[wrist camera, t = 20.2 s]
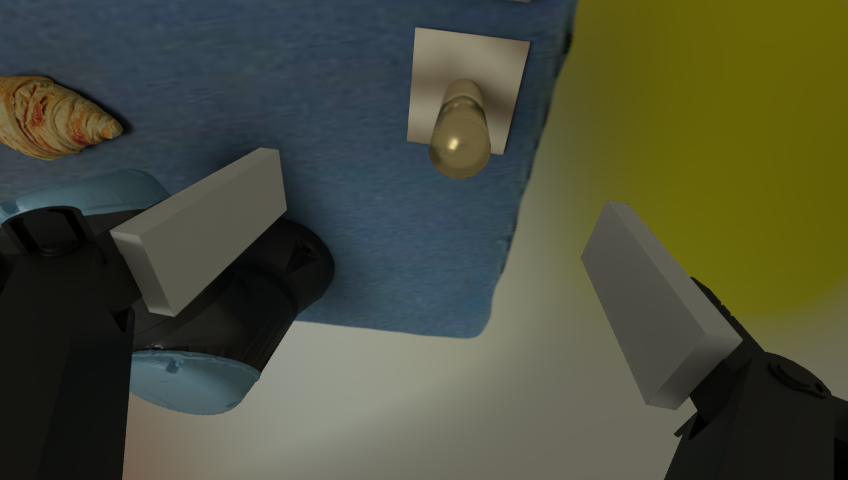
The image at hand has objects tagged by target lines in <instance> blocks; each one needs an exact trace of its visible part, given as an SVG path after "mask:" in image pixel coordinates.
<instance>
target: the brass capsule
mask: <svg viewBox="0 0 848 480" xmlns="http://www.w3.org/2000/svg"><path fill="white" fill-rule="evenodd" d="M429 154H430V158H431V161H432V163H433V165H434V166H435V168H436V169H437V170H438V171H439V172H441V173H442V174H443V175H445V176H447V177H450V178H455V179H464V178H469V177H471V176H474V175H476V174H477V173H479V172H480V171H481V170H482V169H483V168H484V167H485V165H486V164H487V162H488V160H489V157H490V154H491V142H490V137H489V132H488V127H487V121H486V116H485V111H484V106H483V101H482V95H481V91H480V89H479V87H478V86H477V85H476V84H475V83H474V82H473V81H471V80H468V79H459V80H456V81H454V82H452V83H451V84H450V85H449V86H448V87H447V89H446V91H445V93H444V96H443V100H442V103H441V106H440V110H439V113H438V117H437V120H436V123H435V127H434V130H433V133H432V137H431V140H430V145H429Z"/></svg>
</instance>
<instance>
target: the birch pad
mask: <svg viewBox="0 0 848 480" xmlns="http://www.w3.org/2000/svg"><path fill="white" fill-rule="evenodd" d="M529 45H530V42H528V41H520V40H512V39H504V38H496V37H489V36H481V35H473V34H465V33H457V32H449V31H442V30H434V29H426V28H418V27H416V30H415V43H414V56H413V69H412V82H411V95H410V108H409V121H408V134H407V141H412V142H418V143H425V144H430V140H431V137H432V133H433V130H434V127H435V123H436V120H437V117H438V113H439V110H440V106H441V103H442V100H443V96H444V93H445V91H446V89H447V87H448V86H449V85H450V84H451V83H452V82H454V81H456V80H459V79H468V80H471V81H473V82H474V83H475V84H476V85H477V86H478V87H479V89H480V91H481V95H482V101H483V106H484V111H485V116H486V121H487V127H488V132H489V137H490V142H491V153H492V154H499V155H503V152H504V148H505V144H506V140H507V136H508V132H509V128H510V124H511V119H512V115H513V111H514V107H515V103H516V99H517V95H518V91H519V87H520V82H521V78H522V74H523V70H524V66H525V62H526V58H527V54H528V49H529Z"/></svg>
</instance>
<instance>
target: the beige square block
mask: <svg viewBox="0 0 848 480" xmlns="http://www.w3.org/2000/svg"><path fill="white" fill-rule="evenodd" d="M511 1H519V2H529V1H531V0H511Z"/></svg>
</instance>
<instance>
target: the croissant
mask: <svg viewBox="0 0 848 480" xmlns="http://www.w3.org/2000/svg"><path fill="white" fill-rule="evenodd" d="M122 131H123V128H122V126H121V125H120V123H119V122H118V121H117V120H116V119H114V118H113V117H112V116H110V115H109V114H107V113H106V112H105V111H103V110H102V109H101V108H100V107H99V106H97V105H96V104H94V103H92V102H91V101H90V100H86V99H85V98H83V97H81V96H80V95H78V94H76V93H75V92H74V91H72V90H69V89H66V88H64V87H62V86H60V85H57V84H54V82H53V81H52V80H50V79H49V78H46V77H43V76H5V77H0V142H2V143H4V144H6V145H8V146H10V147H11V148H13V149H15V150H17V151H20V152H22V153H24V154H26V155H29V156H32V157H36V158H40V159H43V160H51V161H53V160H57V159H59V158H64V157H66V156H67V155H68V154H71V153H79V152H82V150H83V149H84V147H86V146H87V145H96V144H99V143H101V142H102V141H104V140H105V139H106V138H107V139H113V138H114V137H116V136H119V135H121V134H122Z"/></svg>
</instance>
